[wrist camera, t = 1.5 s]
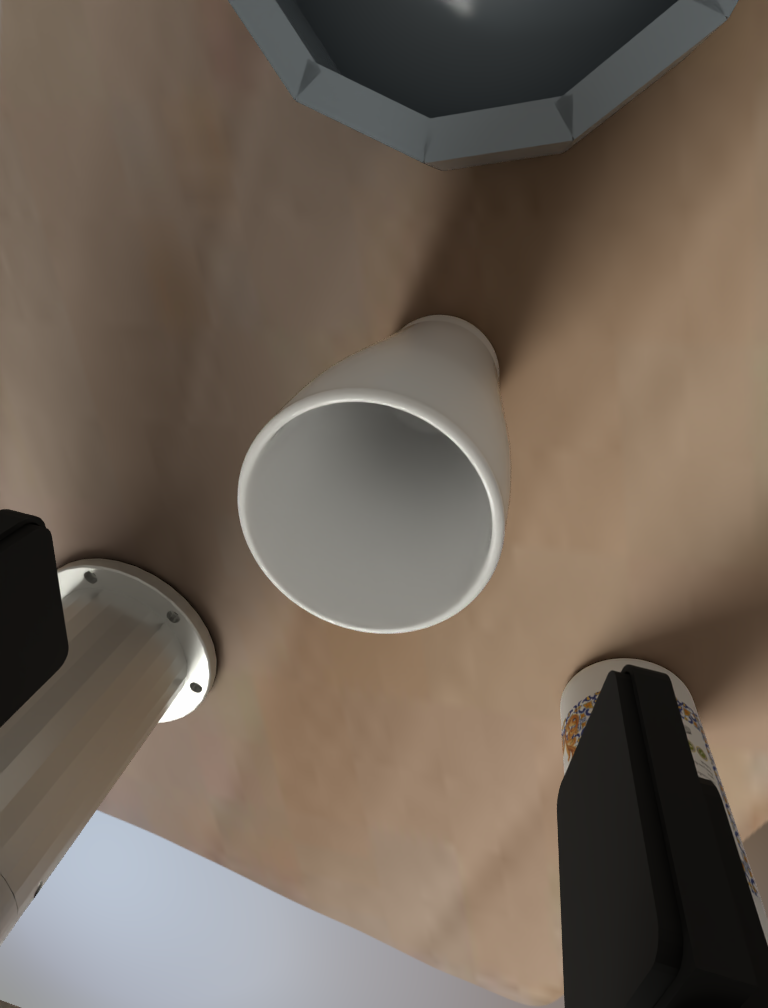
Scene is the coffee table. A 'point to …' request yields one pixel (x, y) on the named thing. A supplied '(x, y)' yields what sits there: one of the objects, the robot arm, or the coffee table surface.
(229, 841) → the coffee table surface
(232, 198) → the coffee table surface
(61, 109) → the coffee table surface
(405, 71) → the bowl
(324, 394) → the drinking glass
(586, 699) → the bath foam
